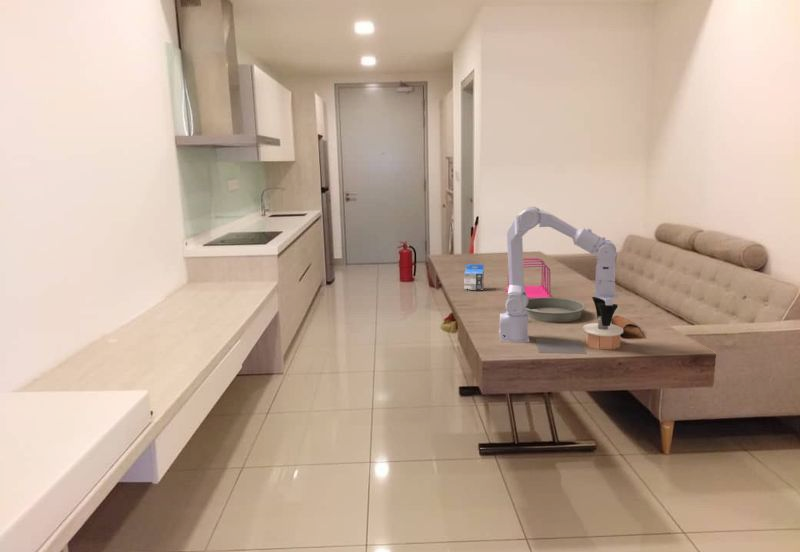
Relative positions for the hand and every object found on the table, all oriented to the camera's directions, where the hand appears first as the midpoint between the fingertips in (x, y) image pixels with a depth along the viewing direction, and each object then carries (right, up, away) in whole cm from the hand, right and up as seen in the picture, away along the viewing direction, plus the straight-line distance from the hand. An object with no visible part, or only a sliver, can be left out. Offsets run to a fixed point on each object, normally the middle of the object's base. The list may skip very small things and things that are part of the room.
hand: (603, 322), depth 175 cm
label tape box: (-29, +8, +89) cm, 94 cm away
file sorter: (-6, +6, +76) cm, 76 cm away
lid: (0, -3, +1) cm, 3 cm away
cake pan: (-5, -1, +41) cm, 41 cm away
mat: (-13, -8, +1) cm, 16 cm away
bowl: (0, -8, +1) cm, 8 cm away
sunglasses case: (+14, -5, +17) cm, 22 cm away
